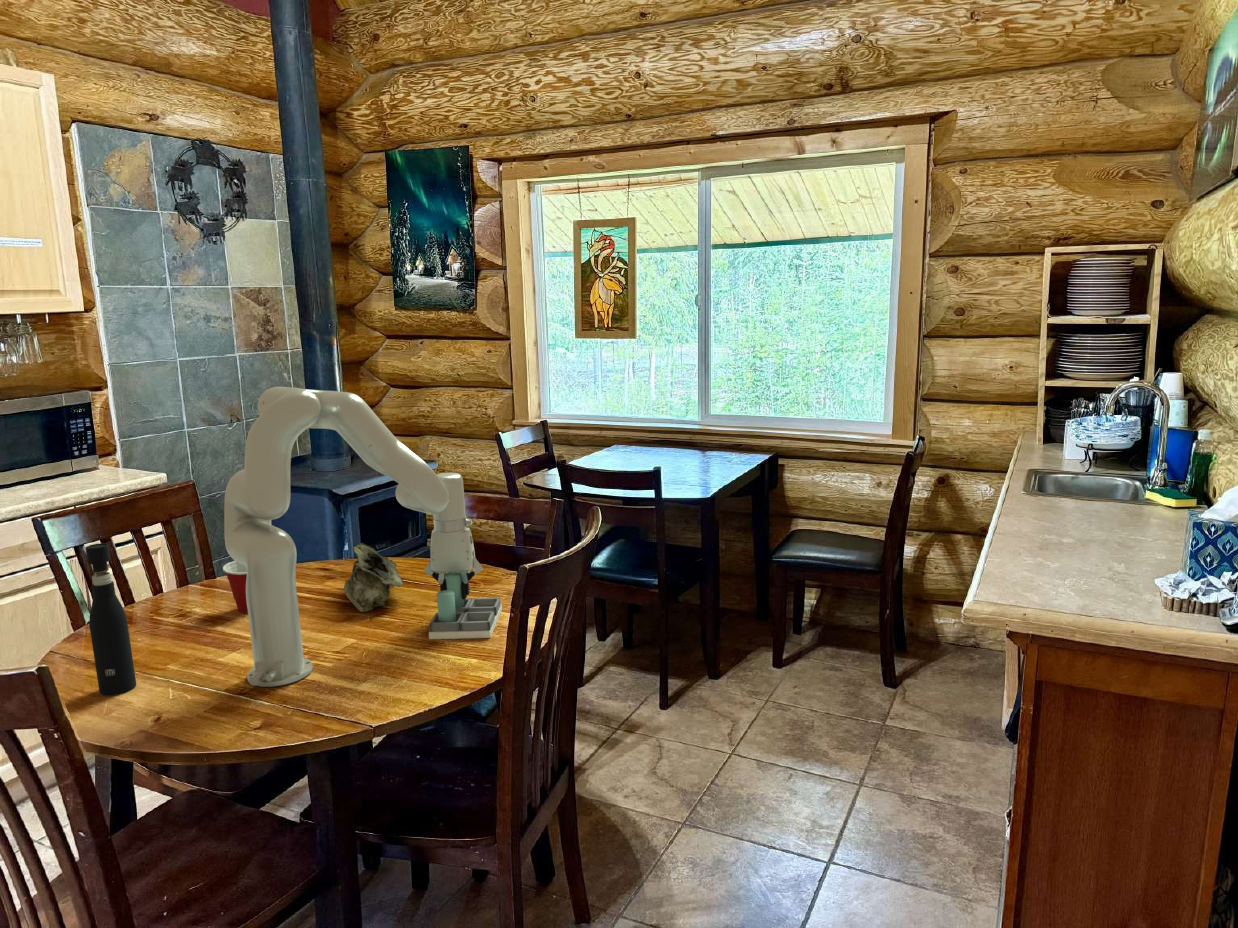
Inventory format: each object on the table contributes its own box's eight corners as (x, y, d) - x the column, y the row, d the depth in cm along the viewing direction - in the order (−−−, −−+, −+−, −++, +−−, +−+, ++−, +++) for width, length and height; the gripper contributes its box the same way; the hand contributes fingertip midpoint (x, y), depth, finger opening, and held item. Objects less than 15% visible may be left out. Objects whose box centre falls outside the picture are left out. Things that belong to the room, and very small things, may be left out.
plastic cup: (242, 619, 204) (236, 573, 202) (219, 611, 211) (214, 566, 209) (282, 606, 213) (277, 561, 211) (259, 598, 219) (255, 555, 217)
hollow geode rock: (373, 596, 233) (331, 562, 229) (404, 563, 233) (363, 528, 229) (367, 629, 206) (319, 592, 202) (403, 591, 207) (356, 553, 202)
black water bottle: (129, 678, 172) (108, 539, 167) (141, 687, 168) (121, 544, 163) (94, 690, 167) (72, 546, 162) (106, 698, 163) (84, 552, 158)
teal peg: (465, 602, 203) (463, 570, 202) (462, 607, 199) (460, 576, 198) (449, 602, 203) (447, 571, 202) (446, 608, 199) (443, 576, 198)
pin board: (490, 637, 188) (488, 597, 187) (429, 639, 189) (426, 599, 187) (502, 609, 206) (500, 572, 204) (446, 610, 206) (443, 574, 204)
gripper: (487, 519, 201) (492, 591, 205) (419, 521, 201) (424, 593, 205) (482, 527, 194) (487, 602, 197) (411, 530, 194) (417, 604, 197)
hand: (455, 597), depth 201 cm, fingers closed on teal peg, 4 cm apart
